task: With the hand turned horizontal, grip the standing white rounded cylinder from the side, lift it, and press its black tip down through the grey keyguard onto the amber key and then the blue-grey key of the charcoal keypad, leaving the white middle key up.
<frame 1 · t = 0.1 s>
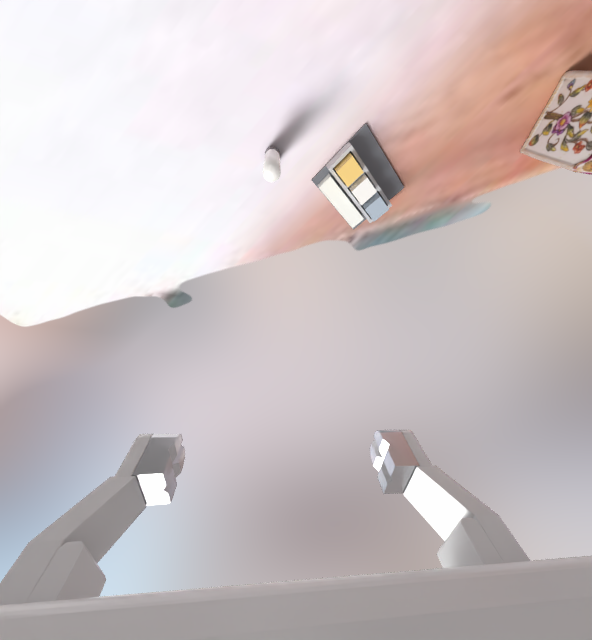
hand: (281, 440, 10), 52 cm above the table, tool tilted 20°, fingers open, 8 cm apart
decorative jar: (566, 115, 45), on the table
keypad: (358, 183, 51), on the table
white rounded cylinder: (272, 155, 47), on the table
key white: (362, 189, 49), point 4 cm above the table, slide at 0.0 cm
key slate: (375, 206, 52), point 4 cm above the table, slide at 0.0 cm
key amber: (348, 169, 46), point 3 cm above the table, slide at 0.0 cm
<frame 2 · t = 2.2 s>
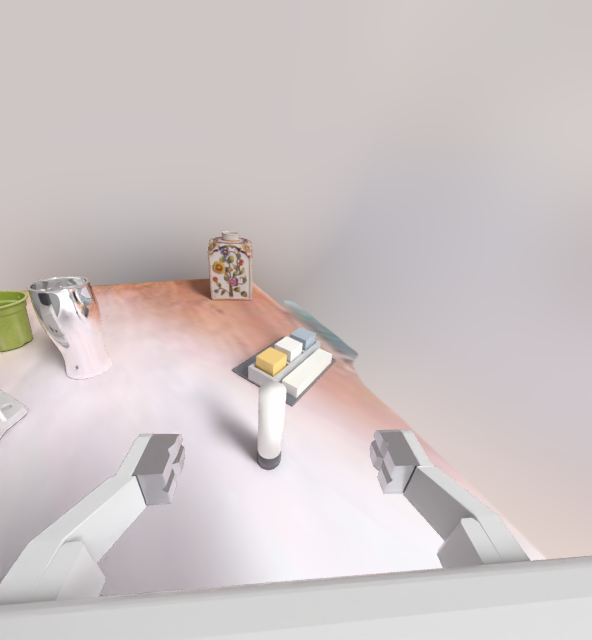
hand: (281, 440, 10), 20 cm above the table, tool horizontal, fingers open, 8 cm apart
decorative jar: (232, 294, 76), on the table
beer glass: (91, 368, 42), on the table
keypad: (286, 365, 46), on the table
white rounded cylinder: (269, 458, 30), on the table
key white: (288, 350, 45), point 4 cm above the table, slide at 0.0 cm
key slate: (302, 340, 48), point 4 cm above the table, slide at 0.0 cm
plant pot: (10, 344, 46), on the table
key amber: (271, 362, 41), point 4 cm above the table, slide at 0.0 cm
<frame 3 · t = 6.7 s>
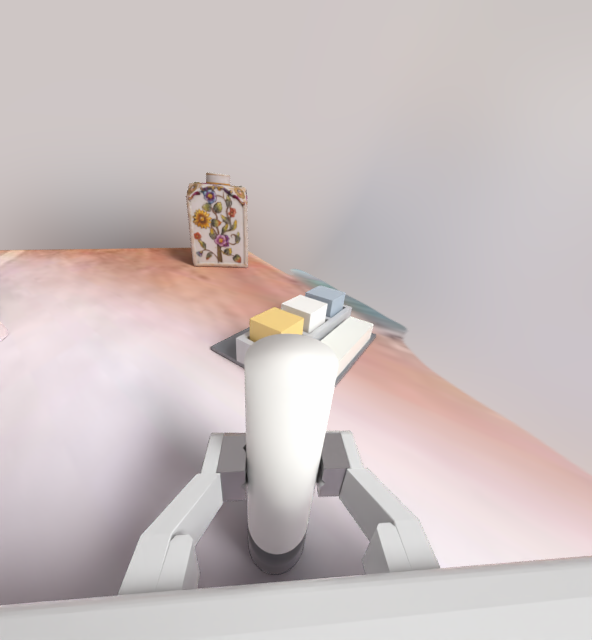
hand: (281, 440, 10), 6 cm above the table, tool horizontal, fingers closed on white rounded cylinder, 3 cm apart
decorative jar: (223, 262, 59), on the table
keypad: (300, 342, 29), on the table
white rounded cylinder: (276, 536, 12), on the table, touching gripper
key white: (303, 316, 27), point 3 cm above the table, slide at 0.0 cm
key slate: (324, 303, 31), point 3 cm above the table, slide at 0.0 cm
key amber: (276, 332, 24), point 3 cm above the table, slide at 0.0 cm
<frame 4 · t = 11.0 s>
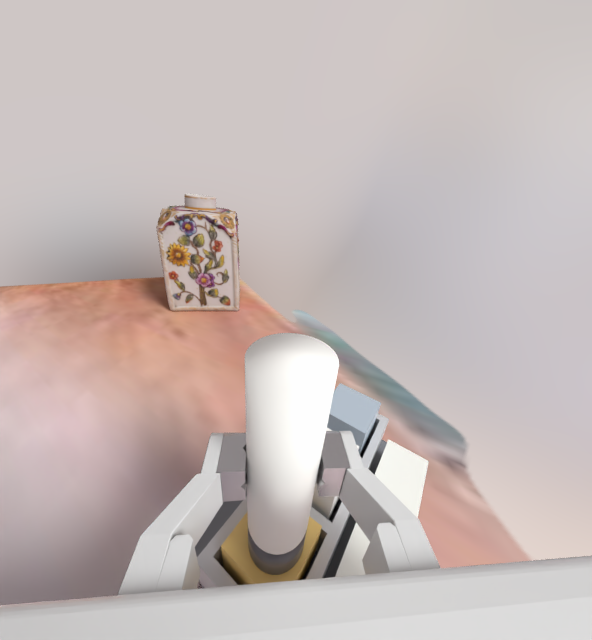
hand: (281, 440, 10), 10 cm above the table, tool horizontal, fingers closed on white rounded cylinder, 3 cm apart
decorative jar: (209, 300, 48), on the table
keypad: (313, 495, 18), on the table
white rounded cylinder: (276, 536, 12), point 4 cm above the table, touching gripper, key amber
key white: (319, 465, 16), point 3 cm above the table, slide at 0.0 cm
key slate: (348, 419, 20), point 3 cm above the table, slide at 0.0 cm
key amber: (272, 549, 13), point 2 cm above the table, slide at 1.1 cm, touching white rounded cylinder
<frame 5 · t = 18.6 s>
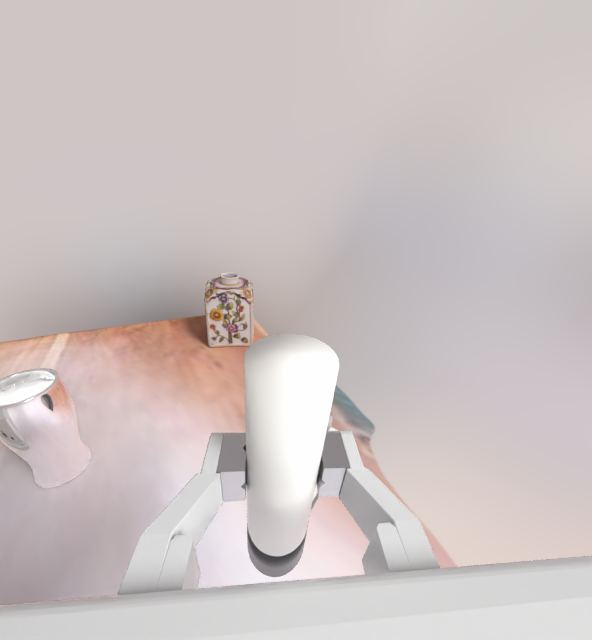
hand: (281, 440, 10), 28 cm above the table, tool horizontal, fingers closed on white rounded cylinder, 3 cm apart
decorative jar: (232, 337, 70), on the table
beer glass: (65, 466, 35), on the table
white rounded cylinder: (276, 538, 12), point 22 cm above the table, touching gripper
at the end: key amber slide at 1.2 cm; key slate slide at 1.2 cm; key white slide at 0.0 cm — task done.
